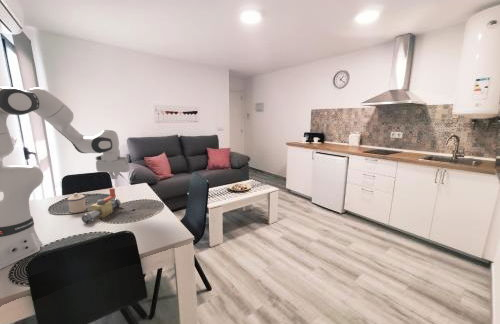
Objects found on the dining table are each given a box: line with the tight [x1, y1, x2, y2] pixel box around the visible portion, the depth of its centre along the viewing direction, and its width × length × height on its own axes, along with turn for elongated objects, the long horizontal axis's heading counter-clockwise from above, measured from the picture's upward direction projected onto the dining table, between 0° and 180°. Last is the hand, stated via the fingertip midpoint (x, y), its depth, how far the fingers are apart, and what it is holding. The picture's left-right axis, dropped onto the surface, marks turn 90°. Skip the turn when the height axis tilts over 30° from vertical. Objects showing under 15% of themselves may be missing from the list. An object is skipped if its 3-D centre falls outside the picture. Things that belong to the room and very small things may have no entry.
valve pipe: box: [81, 198, 122, 224], centre depth 134 cm, size 24×7×8 cm, turn 173°
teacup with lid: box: [66, 192, 87, 214], centre depth 140 cm, size 12×9×12 cm
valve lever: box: [96, 187, 117, 204], centre depth 136 cm, size 13×4×6 cm, turn 173°
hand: (114, 178), depth 135 cm, fingers closed
